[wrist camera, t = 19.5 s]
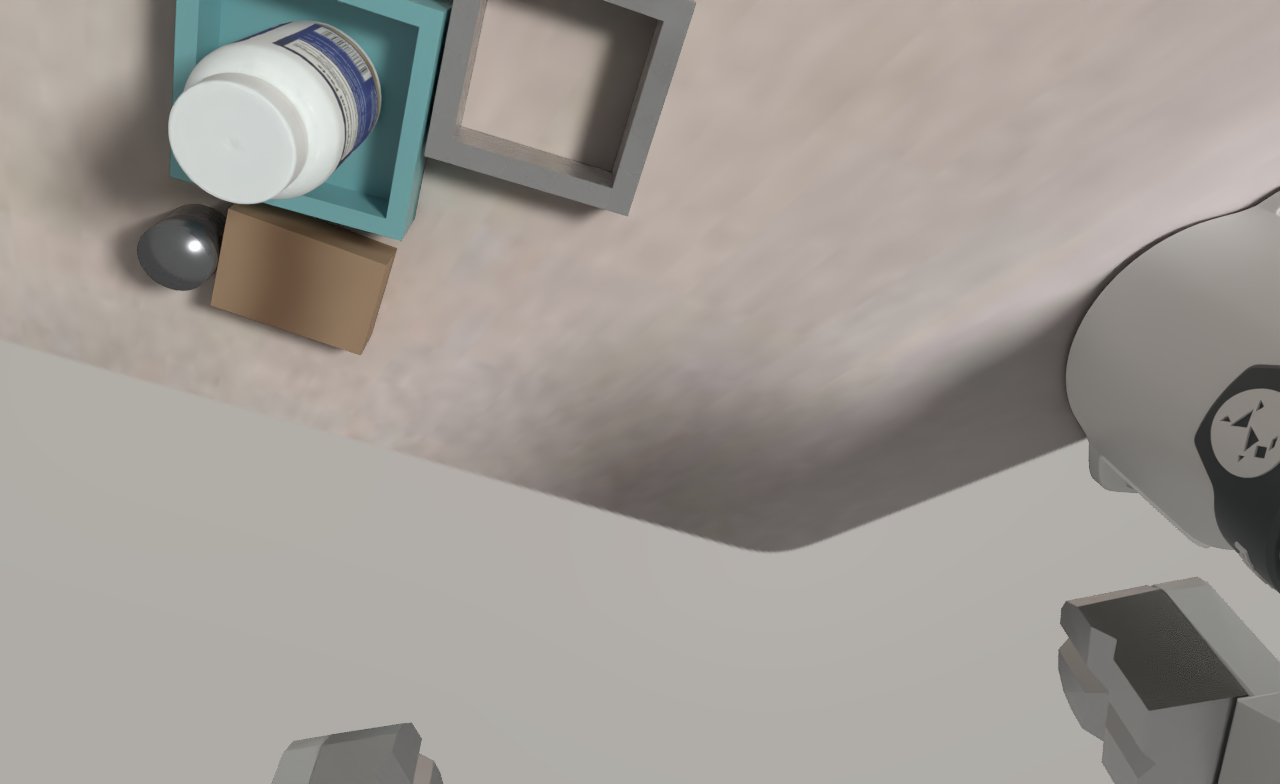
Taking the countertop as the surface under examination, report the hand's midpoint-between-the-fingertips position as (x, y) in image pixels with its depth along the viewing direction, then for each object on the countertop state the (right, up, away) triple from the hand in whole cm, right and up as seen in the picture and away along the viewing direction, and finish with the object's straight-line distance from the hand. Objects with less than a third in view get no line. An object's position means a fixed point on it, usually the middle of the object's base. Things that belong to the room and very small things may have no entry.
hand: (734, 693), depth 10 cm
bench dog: (-22, +11, +29) cm, 38 cm away
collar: (-5, +18, +26) cm, 31 cm away
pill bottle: (-15, +17, +25) cm, 33 cm away
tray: (-15, +17, +25) cm, 34 cm away
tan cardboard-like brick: (-17, +10, +30) cm, 36 cm away
